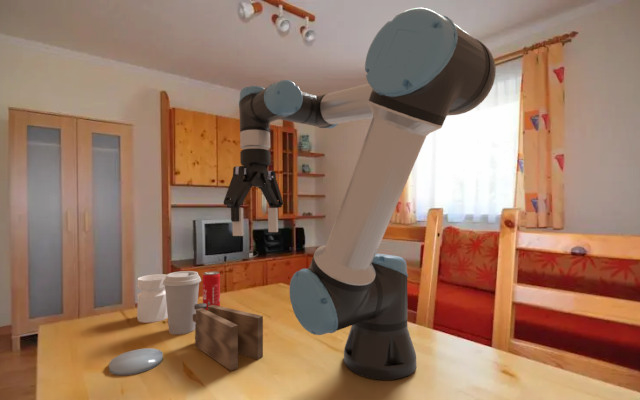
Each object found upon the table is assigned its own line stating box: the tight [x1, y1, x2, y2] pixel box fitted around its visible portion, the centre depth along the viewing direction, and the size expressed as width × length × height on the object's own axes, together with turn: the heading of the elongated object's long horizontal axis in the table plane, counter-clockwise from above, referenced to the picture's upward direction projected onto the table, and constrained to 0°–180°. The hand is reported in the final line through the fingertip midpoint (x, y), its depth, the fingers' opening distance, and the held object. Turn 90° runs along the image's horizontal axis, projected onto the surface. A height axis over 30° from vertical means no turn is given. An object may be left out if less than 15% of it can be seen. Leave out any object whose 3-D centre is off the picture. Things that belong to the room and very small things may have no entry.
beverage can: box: [202, 270, 221, 310], centre depth 106 cm, size 5×5×12 cm
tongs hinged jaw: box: [193, 308, 239, 371], centre depth 75 cm, size 19×2×9 cm, turn 45°
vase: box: [136, 273, 168, 324], centre depth 100 cm, size 9×9×12 cm
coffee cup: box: [163, 270, 202, 336], centre depth 90 cm, size 10×10×15 cm
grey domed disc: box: [108, 347, 164, 376], centre depth 71 cm, size 10×10×1 cm
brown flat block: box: [194, 302, 264, 360], centre depth 78 cm, size 19×4×9 cm, turn 59°
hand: (256, 234), depth 84 cm, fingers open, 13 cm apart
